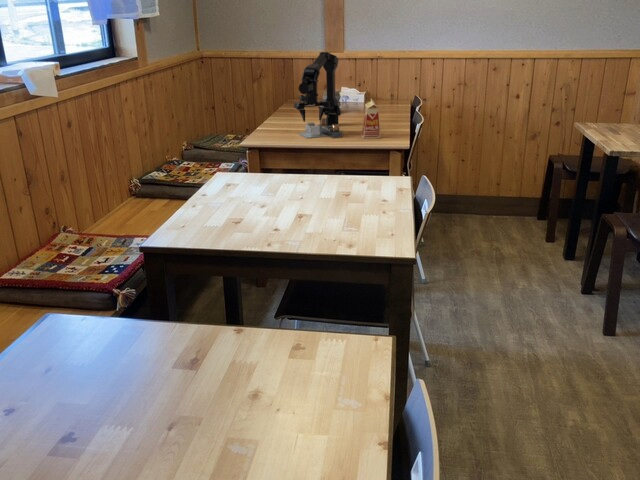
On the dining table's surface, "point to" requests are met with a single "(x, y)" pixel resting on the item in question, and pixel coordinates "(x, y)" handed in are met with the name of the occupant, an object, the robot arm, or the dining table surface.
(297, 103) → the robot arm
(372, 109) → the milk carton
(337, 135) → the hand plane
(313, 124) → the grey metal block
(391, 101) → the dining table surface
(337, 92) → the tankard
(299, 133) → the rubber mat
